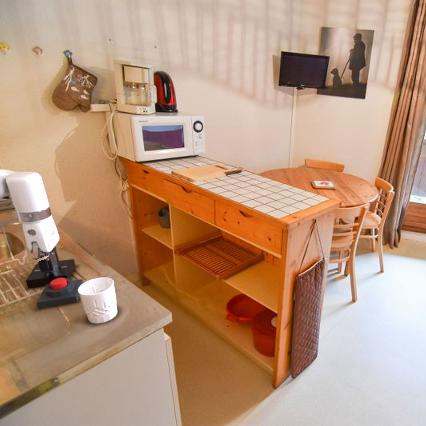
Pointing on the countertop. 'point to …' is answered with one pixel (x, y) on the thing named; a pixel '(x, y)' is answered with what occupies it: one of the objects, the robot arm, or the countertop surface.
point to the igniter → (60, 294)
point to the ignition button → (58, 283)
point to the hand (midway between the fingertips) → (50, 266)
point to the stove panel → (50, 274)
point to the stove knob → (53, 259)
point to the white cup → (99, 299)
